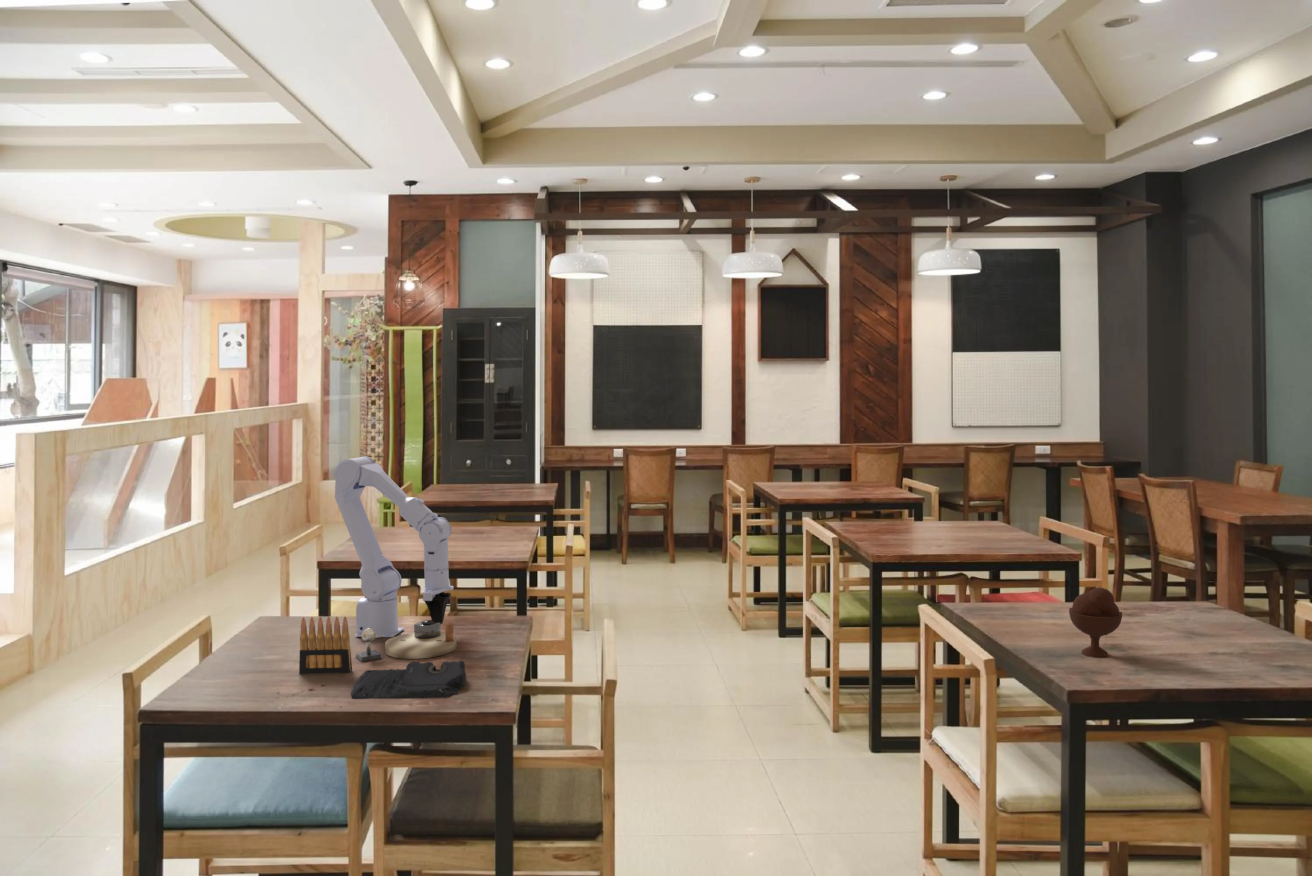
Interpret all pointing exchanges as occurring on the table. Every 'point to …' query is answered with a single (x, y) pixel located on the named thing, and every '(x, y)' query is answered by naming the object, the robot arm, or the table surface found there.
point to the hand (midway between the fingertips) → (437, 624)
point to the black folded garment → (411, 681)
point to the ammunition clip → (324, 648)
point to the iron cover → (427, 629)
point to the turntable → (421, 645)
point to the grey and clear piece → (369, 646)
